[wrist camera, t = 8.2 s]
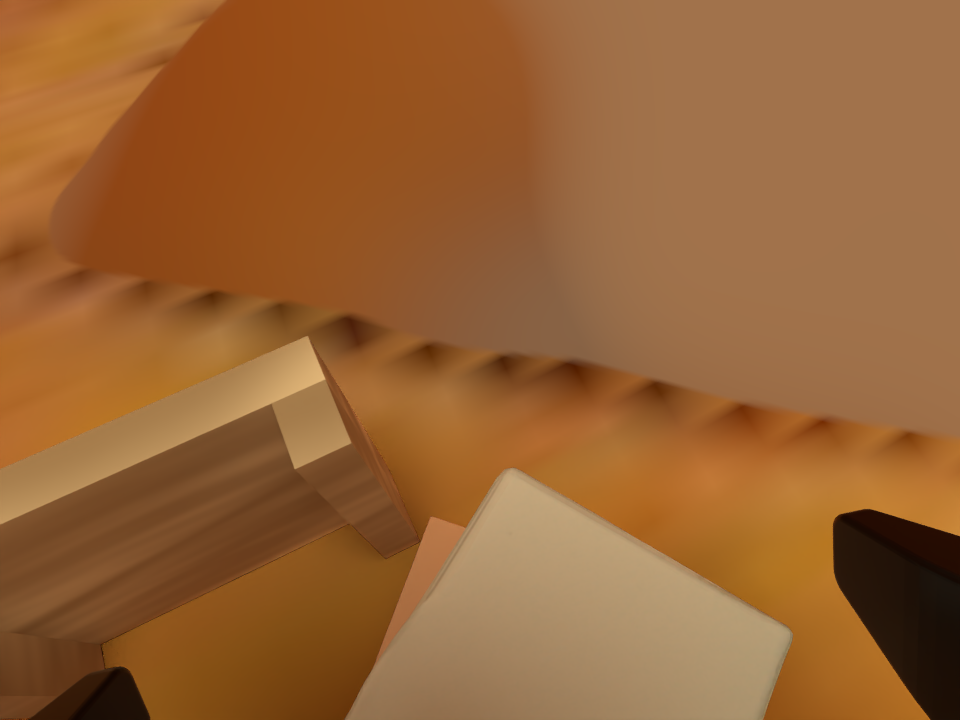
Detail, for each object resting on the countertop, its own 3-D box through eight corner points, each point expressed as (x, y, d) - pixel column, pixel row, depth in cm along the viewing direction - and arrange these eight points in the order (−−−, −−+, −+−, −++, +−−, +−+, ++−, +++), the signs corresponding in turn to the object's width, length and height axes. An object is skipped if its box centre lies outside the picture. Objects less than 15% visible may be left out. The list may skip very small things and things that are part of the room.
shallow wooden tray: (420, 541, 21) (351, 443, 13) (69, 716, 19) (-263, 728, 11) (387, 467, 22) (307, 335, 14) (56, 625, 20) (-249, 577, 12)
